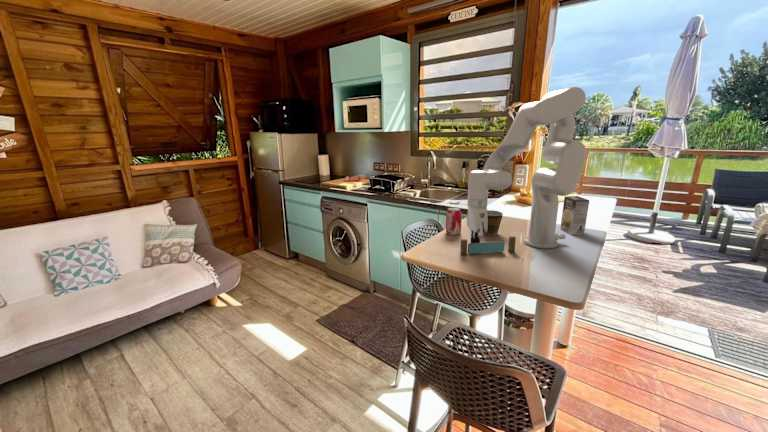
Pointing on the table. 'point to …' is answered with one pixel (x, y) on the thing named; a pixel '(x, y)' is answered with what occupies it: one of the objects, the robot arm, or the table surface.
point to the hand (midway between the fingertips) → (474, 246)
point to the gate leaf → (486, 247)
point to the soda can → (453, 221)
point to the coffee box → (574, 215)
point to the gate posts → (510, 247)
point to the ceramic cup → (493, 222)
